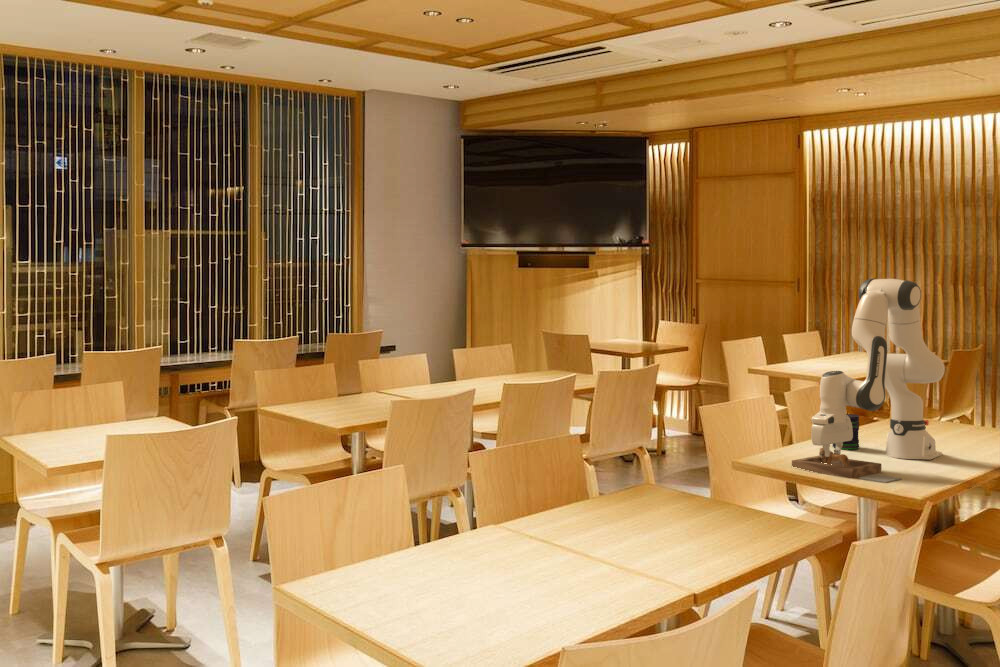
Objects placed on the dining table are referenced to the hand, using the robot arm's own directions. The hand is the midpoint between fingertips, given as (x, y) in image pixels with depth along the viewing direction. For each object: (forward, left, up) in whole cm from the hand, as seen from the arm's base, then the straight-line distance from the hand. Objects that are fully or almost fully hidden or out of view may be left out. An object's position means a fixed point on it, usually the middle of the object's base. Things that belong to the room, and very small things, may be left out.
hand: (832, 455), depth 340 cm
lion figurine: (+1, +2, -5) cm, 5 cm away
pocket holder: (0, +2, -5) cm, 5 cm away
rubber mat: (+3, +20, -5) cm, 21 cm away
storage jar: (-36, -18, -5) cm, 40 cm away
